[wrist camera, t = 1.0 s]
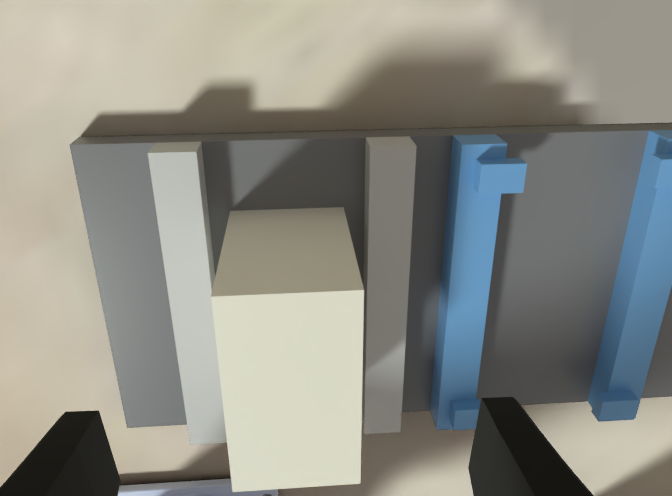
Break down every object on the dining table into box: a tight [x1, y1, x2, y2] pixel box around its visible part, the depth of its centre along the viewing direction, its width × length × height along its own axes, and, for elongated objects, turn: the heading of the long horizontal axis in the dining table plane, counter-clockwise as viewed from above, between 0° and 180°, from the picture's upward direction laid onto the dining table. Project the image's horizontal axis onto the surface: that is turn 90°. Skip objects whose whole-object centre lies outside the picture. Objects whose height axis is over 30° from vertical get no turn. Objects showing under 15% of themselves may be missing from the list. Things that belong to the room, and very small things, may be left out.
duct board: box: [70, 123, 672, 445], centre depth 22 cm, size 12×24×3 cm, turn 90°
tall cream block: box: [211, 207, 364, 492], centre depth 20 cm, size 7×4×6 cm, turn 0°
